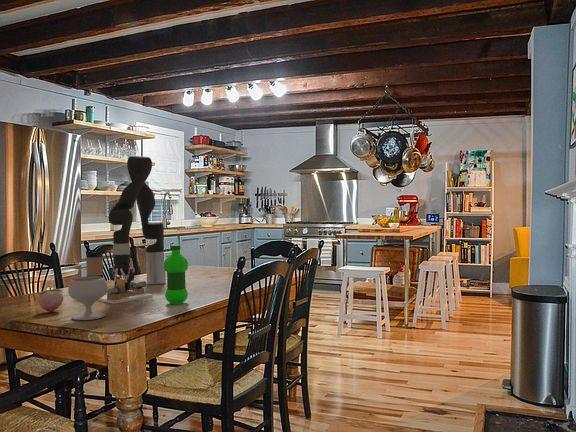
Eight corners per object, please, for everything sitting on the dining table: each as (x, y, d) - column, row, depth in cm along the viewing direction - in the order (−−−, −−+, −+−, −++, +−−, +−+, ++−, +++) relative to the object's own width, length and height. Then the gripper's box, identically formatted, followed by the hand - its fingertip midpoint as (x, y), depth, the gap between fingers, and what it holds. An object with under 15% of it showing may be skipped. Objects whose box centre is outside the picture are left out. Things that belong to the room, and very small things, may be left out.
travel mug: (106, 291, 261) (105, 251, 260) (99, 293, 253) (98, 252, 253) (91, 291, 261) (90, 251, 261) (84, 293, 254) (83, 252, 253)
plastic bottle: (165, 306, 218) (163, 246, 217) (164, 302, 228) (162, 244, 228) (189, 304, 221) (188, 245, 220) (187, 300, 231) (186, 244, 230)
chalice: (112, 313, 206) (112, 275, 205) (101, 321, 192) (100, 280, 191) (76, 314, 205) (75, 276, 205) (62, 322, 191) (61, 281, 191)
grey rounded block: (113, 297, 235) (112, 284, 235) (123, 297, 235) (123, 284, 234) (105, 300, 227) (104, 287, 227) (116, 300, 227) (115, 287, 226)
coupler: (123, 291, 243) (123, 278, 243) (130, 291, 240) (130, 278, 240) (114, 292, 239) (114, 279, 239) (120, 293, 236) (120, 280, 236)
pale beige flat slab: (130, 293, 253) (130, 287, 253) (152, 297, 241) (152, 291, 241) (92, 299, 238) (92, 293, 238) (113, 303, 226) (113, 297, 226)
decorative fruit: (56, 308, 217) (56, 284, 216) (66, 311, 211) (66, 286, 211) (33, 312, 209) (33, 287, 209) (43, 315, 204) (43, 289, 204)
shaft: (142, 291, 250) (141, 279, 250) (148, 292, 247) (147, 280, 247) (127, 293, 244) (126, 281, 244) (133, 294, 241) (132, 282, 241)
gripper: (103, 253, 238) (104, 290, 239) (128, 254, 233) (129, 292, 233) (115, 252, 245) (115, 288, 246) (139, 252, 240) (140, 289, 240)
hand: (122, 290), depth 239 cm, fingers closed on coupler, 5 cm apart
